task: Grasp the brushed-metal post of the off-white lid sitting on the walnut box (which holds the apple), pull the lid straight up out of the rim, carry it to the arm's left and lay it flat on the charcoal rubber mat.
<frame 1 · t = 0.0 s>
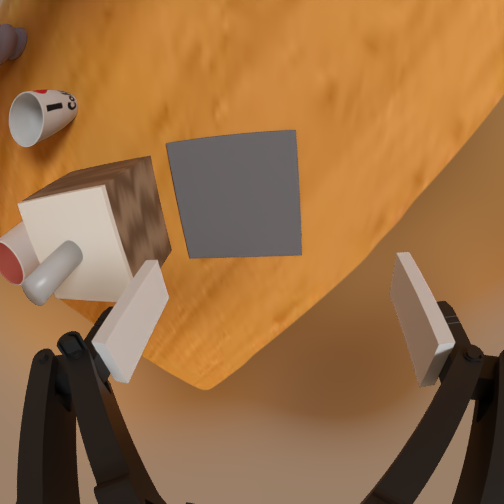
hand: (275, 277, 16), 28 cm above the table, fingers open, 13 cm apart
cup: (36, 238, 53), on the table
box: (118, 209, 47), on the table
mat: (236, 199, 44), on the table
lid: (79, 245, 37), point 12 cm above the table, touching box
cup 2: (67, 108, 39), on the table
cat figurine: (16, 44, 32), on the table
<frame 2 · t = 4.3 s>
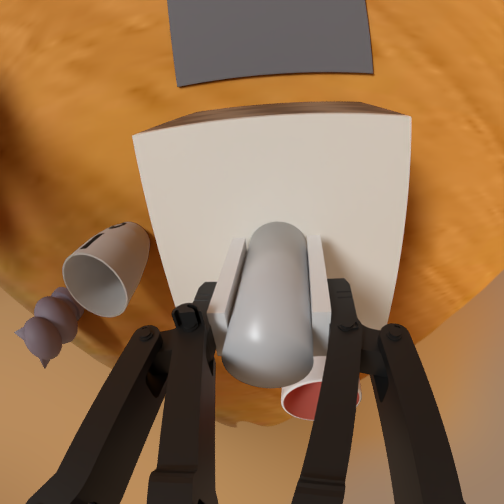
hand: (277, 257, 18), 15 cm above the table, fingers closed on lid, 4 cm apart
cup: (319, 343, 43), on the table
box: (283, 180, 31), on the table
lid: (279, 234, 21), point 12 cm above the table, touching box, gripper
cup 2: (133, 239, 37), on the table
cat figurine: (70, 302, 45), on the table
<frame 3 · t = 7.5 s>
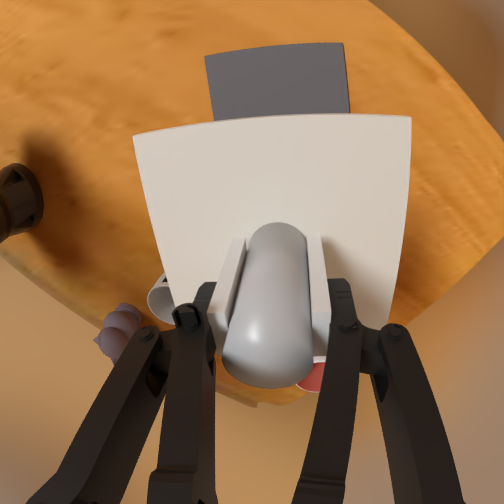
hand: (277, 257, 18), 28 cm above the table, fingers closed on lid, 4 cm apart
cup: (318, 338, 61), on the table
mat: (280, 106, 39), on the table
lid: (279, 235, 21), point 26 cm above the table, touching gripper
cup 2: (188, 270, 55), on the table
cat figurine: (130, 314, 64), on the table
when the fingers open (5 cm above the table, at t = 11.0 s): lid drops 1 cm, resting on mat.
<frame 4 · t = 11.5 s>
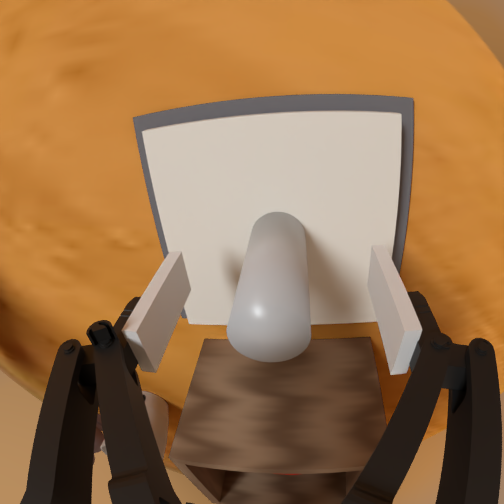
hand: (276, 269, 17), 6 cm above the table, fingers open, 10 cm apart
box: (288, 387, 32), on the table
mat: (280, 223, 22), on the table
lid: (279, 225, 22), resting on mat
cup 2: (151, 400, 38), on the table
cat figurine: (93, 415, 46), on the table
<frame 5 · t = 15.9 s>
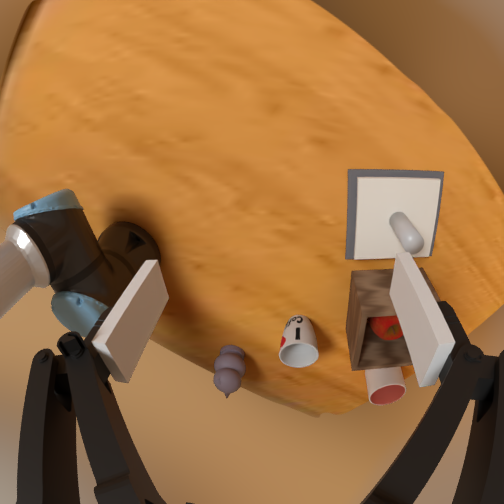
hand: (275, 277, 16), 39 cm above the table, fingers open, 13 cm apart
cup: (381, 365, 75), on the table
box: (383, 299, 63), on the table
apple: (383, 298, 64), resting in box
mat: (395, 215, 54), on the table
lid: (395, 216, 53), resting on mat
cup 2: (299, 322, 69), on the table
cat figurine: (233, 352, 78), on the table
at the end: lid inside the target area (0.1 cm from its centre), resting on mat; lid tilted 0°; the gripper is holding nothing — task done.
